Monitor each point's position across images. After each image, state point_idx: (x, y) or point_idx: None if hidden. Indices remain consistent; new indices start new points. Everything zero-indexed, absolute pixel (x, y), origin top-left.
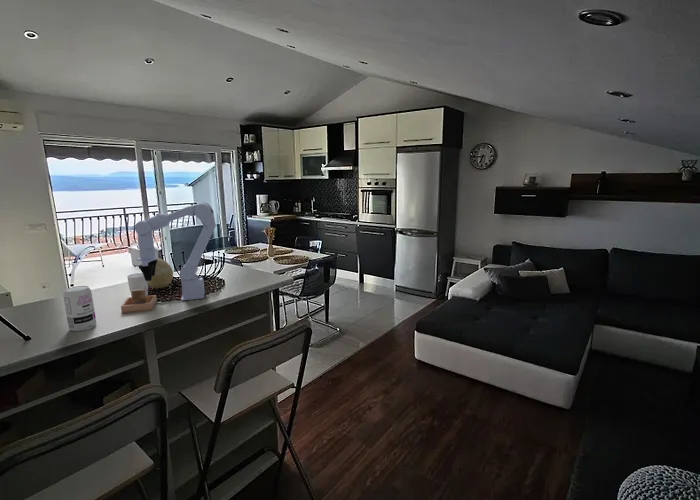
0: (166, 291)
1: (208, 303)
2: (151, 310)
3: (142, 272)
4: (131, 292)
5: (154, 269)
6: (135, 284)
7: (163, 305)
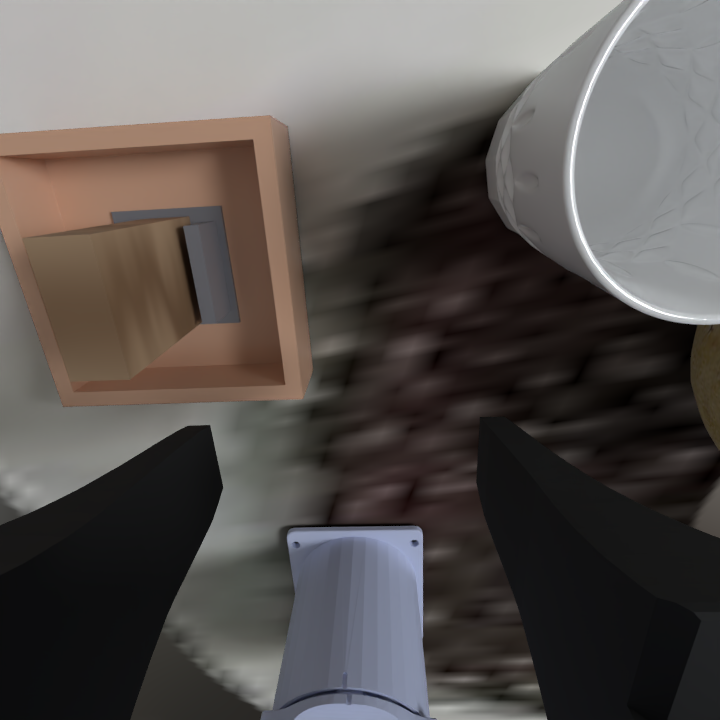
0: (598, 392)
1: (207, 655)
2: None
3: (33, 516)
4: (34, 236)
5: (511, 582)
6: (522, 149)
7: (211, 431)
